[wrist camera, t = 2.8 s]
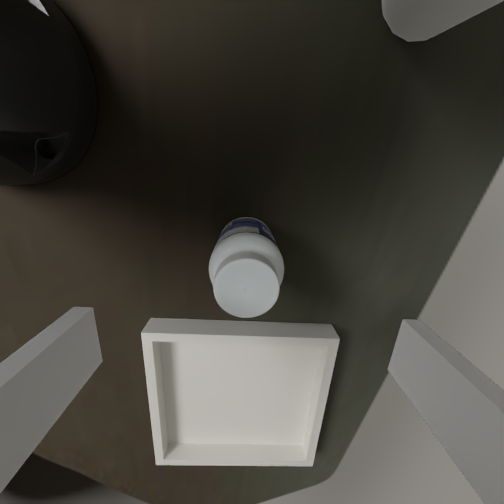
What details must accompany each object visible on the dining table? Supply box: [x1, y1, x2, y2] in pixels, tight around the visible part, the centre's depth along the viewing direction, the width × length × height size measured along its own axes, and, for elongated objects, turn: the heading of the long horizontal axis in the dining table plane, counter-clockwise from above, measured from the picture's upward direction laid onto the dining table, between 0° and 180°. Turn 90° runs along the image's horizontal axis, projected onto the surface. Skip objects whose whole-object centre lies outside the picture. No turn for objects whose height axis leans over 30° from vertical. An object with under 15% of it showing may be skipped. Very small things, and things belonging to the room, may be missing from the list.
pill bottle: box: [209, 217, 284, 318], centre depth 18 cm, size 5×5×10 cm
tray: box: [141, 318, 340, 466], centre depth 28 cm, size 20×20×2 cm
